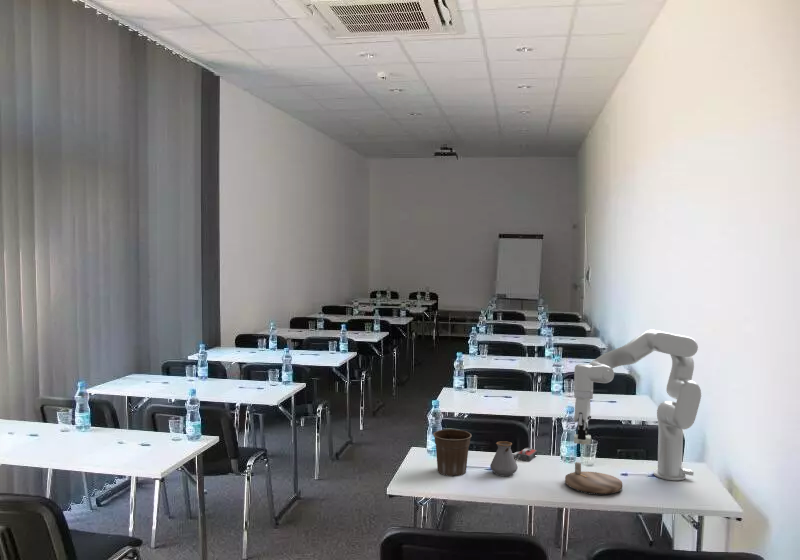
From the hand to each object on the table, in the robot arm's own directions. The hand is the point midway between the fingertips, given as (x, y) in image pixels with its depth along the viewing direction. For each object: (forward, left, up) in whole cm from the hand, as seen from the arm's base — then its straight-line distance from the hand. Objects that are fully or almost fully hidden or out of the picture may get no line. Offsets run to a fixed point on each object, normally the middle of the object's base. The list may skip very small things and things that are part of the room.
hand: (582, 437), depth 272 cm
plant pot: (+51, +18, -17) cm, 57 cm away
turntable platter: (-6, +9, -16) cm, 19 cm away
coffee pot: (+29, +14, -17) cm, 36 cm away
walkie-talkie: (+29, -16, -18) cm, 37 cm away
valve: (0, 0, -3) cm, 3 cm away
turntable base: (-6, +9, -17) cm, 20 cm away
